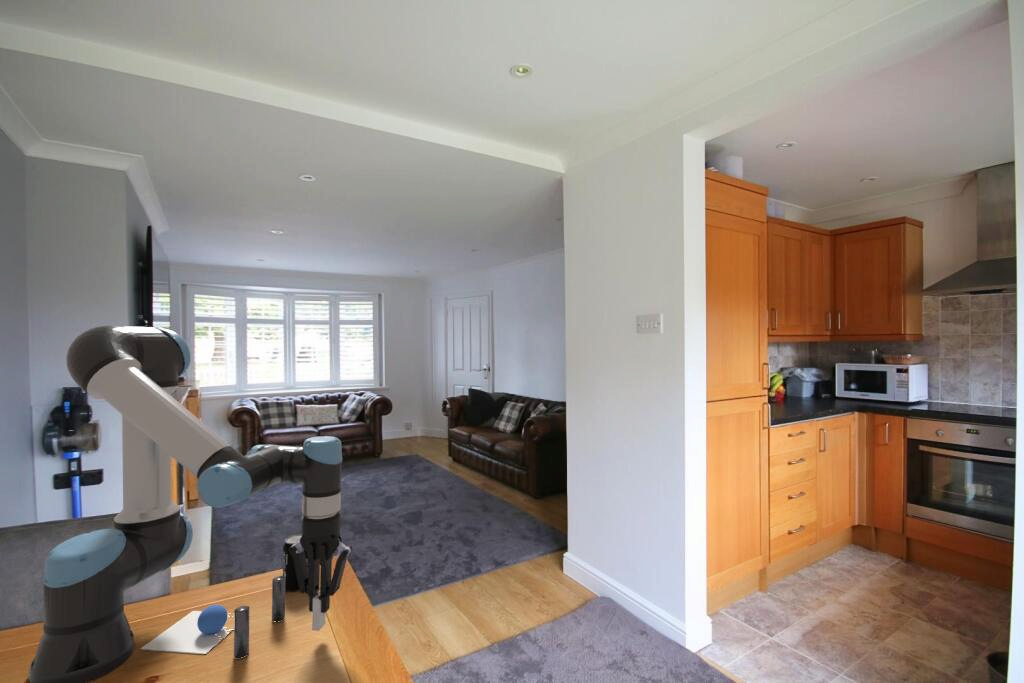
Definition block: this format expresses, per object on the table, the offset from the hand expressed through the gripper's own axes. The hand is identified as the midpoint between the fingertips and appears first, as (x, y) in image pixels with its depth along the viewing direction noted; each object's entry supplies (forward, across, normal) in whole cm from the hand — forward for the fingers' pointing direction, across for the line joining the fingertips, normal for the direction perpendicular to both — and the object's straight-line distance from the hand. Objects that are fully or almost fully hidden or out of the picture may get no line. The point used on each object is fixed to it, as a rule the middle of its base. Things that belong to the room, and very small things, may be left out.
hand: (318, 626), depth 101 cm
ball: (0, +24, 0) cm, 24 cm away
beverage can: (+3, +17, -21) cm, 27 cm away
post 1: (+3, +13, +6) cm, 14 cm away
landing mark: (+3, +27, 0) cm, 27 cm away
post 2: (+3, +13, -6) cm, 14 cm away
